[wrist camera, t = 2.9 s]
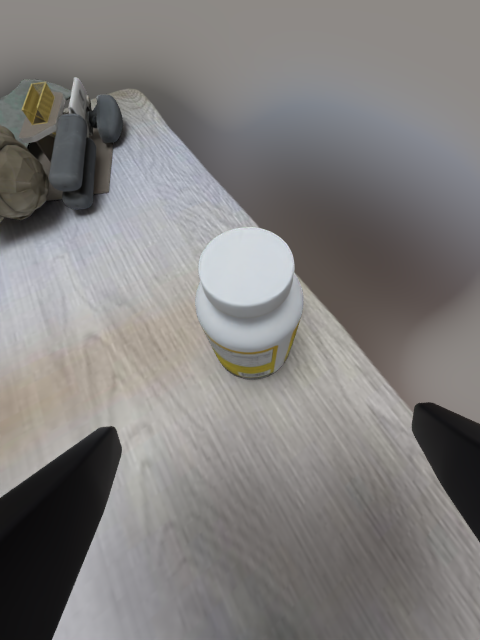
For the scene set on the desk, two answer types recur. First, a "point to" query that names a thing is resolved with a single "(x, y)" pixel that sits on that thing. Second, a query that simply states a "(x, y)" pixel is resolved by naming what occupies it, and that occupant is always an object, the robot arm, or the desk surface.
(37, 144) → the platform
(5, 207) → the multicoloured piece
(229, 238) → the pill bottle
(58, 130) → the can opener
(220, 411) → the desk surface
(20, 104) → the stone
